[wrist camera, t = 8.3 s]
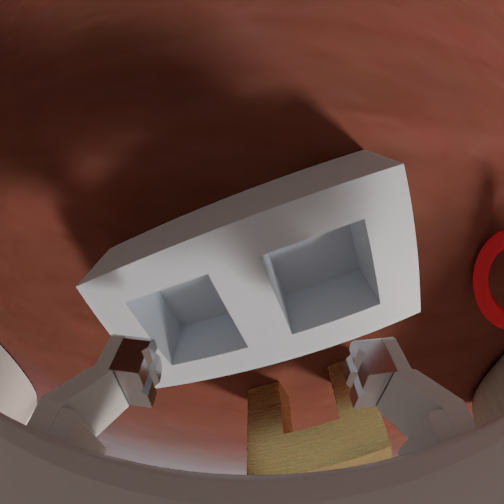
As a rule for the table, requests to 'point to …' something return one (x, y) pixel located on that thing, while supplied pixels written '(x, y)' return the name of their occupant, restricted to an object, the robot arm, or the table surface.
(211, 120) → the table surface
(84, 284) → the hollow block
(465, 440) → the robot arm
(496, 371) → the canister
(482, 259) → the tow hook
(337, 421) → the yellow arch block
